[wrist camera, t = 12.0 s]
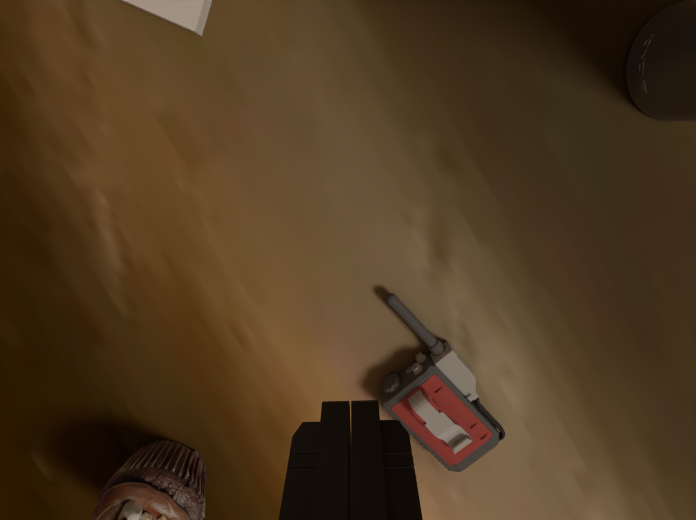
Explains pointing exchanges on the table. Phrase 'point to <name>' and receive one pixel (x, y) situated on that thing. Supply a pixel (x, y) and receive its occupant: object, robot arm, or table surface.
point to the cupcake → (156, 485)
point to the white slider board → (177, 12)
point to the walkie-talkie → (440, 401)
